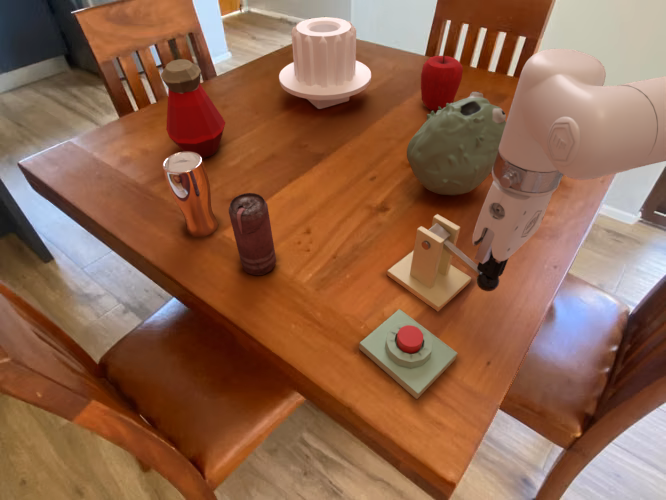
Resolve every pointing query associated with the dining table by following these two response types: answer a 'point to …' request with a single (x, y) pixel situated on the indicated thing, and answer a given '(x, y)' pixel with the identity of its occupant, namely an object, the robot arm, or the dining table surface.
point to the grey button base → (407, 354)
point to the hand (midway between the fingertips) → (489, 271)
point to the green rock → (457, 145)
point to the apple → (440, 81)
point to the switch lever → (465, 260)
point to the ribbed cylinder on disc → (324, 63)
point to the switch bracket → (431, 267)
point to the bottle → (191, 110)
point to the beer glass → (191, 191)
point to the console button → (409, 339)
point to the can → (253, 233)
